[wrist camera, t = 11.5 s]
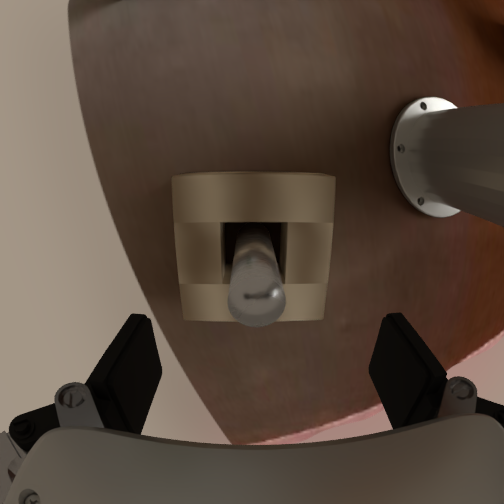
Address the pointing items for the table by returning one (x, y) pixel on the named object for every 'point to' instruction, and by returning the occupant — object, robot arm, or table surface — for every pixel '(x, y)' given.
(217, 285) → the wooden square hole block
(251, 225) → the steel peg
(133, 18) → the table surface
